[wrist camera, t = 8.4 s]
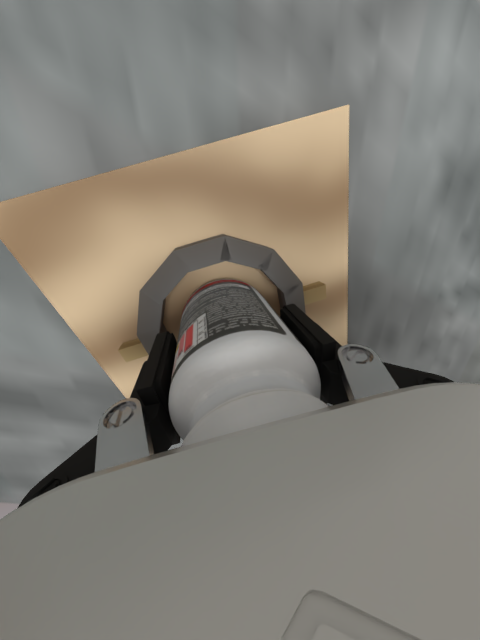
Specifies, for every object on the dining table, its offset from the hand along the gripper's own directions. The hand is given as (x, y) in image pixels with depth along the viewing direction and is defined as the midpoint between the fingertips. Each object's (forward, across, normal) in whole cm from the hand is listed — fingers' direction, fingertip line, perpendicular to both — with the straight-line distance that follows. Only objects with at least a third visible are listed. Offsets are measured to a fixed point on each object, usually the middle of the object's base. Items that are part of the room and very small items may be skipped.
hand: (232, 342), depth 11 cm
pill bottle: (+3, 0, 0) cm, 3 cm away
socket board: (+4, 0, 0) cm, 4 cm away
